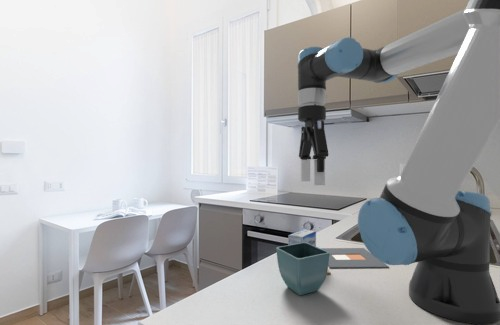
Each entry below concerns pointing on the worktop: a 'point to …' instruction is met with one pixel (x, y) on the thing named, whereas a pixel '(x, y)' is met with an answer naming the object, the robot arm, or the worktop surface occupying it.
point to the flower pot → (302, 266)
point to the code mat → (352, 258)
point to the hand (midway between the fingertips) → (311, 183)
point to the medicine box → (302, 237)
